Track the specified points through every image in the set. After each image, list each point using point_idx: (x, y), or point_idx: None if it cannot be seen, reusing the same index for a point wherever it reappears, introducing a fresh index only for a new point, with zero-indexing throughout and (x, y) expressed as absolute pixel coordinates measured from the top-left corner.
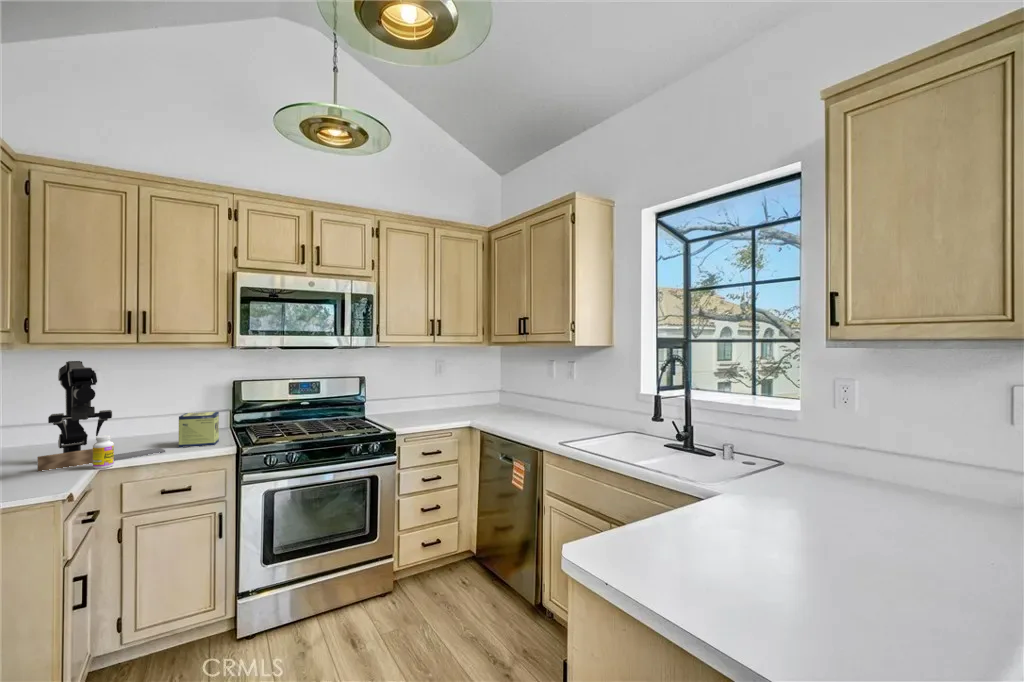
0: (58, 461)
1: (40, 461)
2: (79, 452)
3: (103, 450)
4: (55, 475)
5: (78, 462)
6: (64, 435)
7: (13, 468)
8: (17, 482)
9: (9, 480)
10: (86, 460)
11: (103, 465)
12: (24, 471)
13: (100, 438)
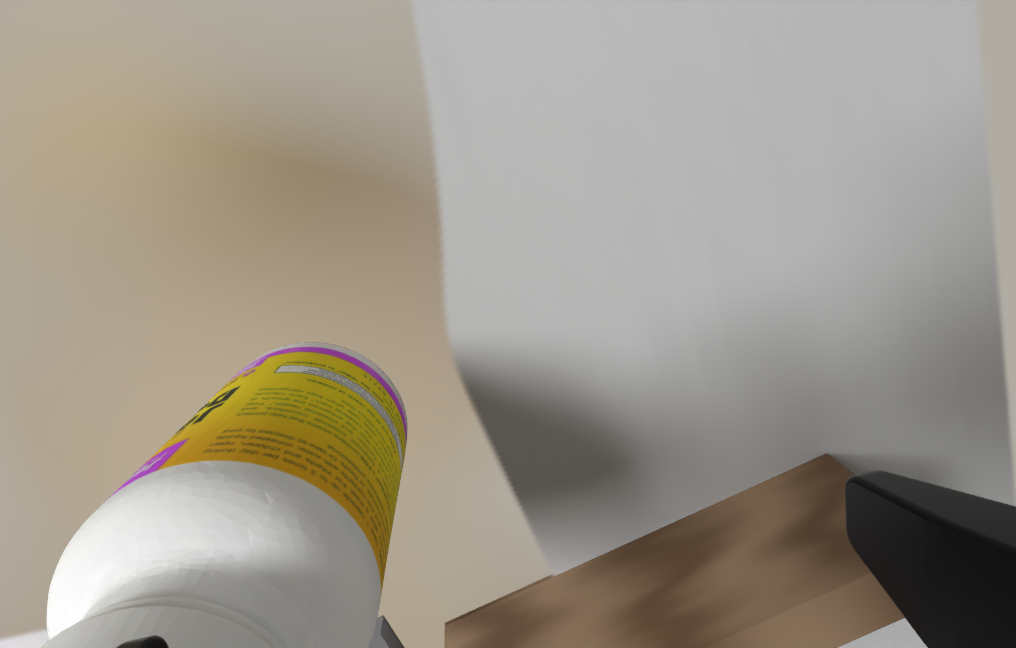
0: (737, 556)
1: None
2: None
3: (197, 439)
4: (668, 246)
5: (579, 591)
6: (1000, 519)
7: None
8: (922, 99)
9: (987, 225)
10: (523, 623)
11: (277, 350)
12: None
13: None
